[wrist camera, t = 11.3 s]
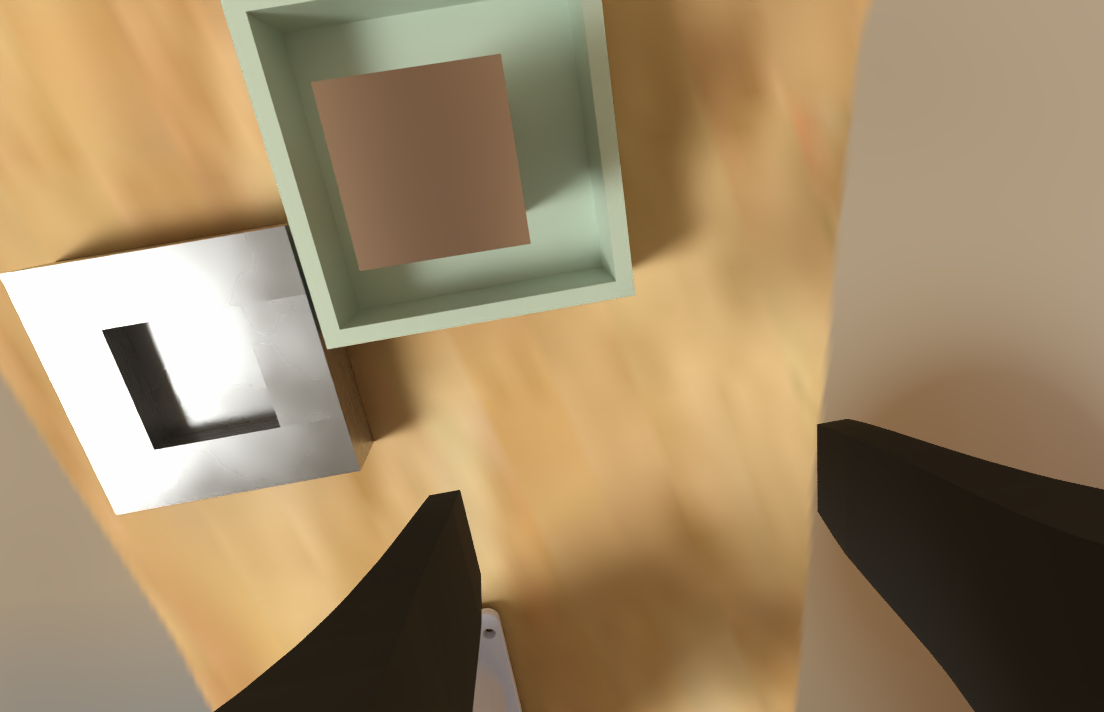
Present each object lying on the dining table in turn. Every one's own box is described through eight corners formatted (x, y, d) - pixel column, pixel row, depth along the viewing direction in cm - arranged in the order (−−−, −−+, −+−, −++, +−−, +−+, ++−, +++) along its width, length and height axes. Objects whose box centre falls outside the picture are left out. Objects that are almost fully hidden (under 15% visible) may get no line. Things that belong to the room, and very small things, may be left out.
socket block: (373, 442, 21) (360, 470, 19) (152, 482, 20) (116, 514, 19) (307, 219, 18) (284, 225, 16) (52, 262, 18) (-1, 274, 16)
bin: (616, 275, 19) (635, 295, 17) (353, 321, 19) (327, 349, 16) (577, -30, 16) (593, -69, 14) (267, 21, 16) (217, -10, 13)
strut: (501, 97, 17) (501, 53, 10) (520, 214, 18) (530, 243, 11) (386, 114, 17) (310, 82, 10) (413, 231, 18) (360, 271, 11)
